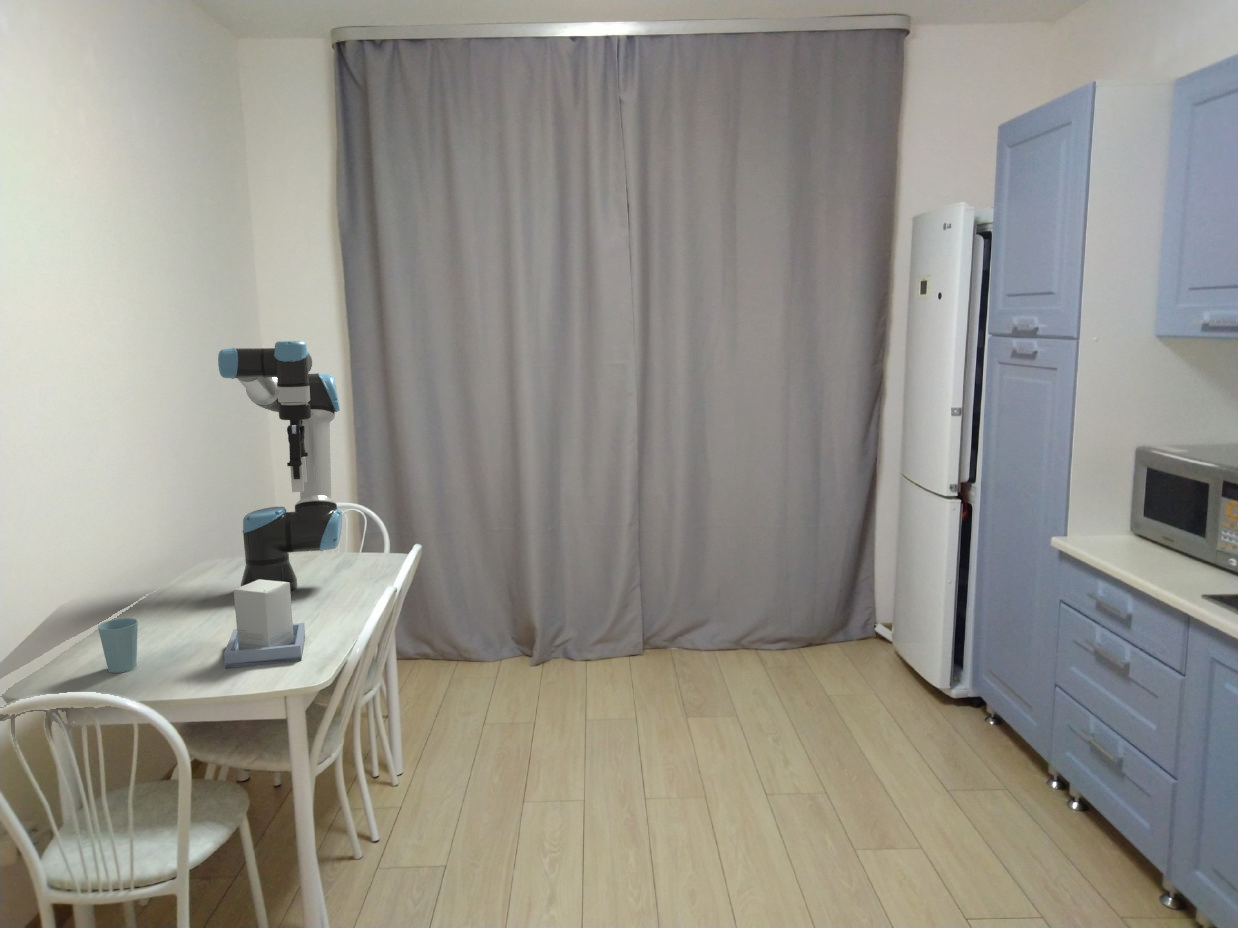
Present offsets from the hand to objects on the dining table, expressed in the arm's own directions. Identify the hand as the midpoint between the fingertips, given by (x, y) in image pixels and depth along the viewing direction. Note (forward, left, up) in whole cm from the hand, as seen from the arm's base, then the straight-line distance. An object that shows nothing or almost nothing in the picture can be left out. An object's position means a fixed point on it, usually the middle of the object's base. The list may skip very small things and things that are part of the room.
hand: (299, 487), depth 222 cm
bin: (+22, -8, -35) cm, 42 cm away
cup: (+23, -38, -35) cm, 56 cm away
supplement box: (+22, -8, -34) cm, 41 cm away
